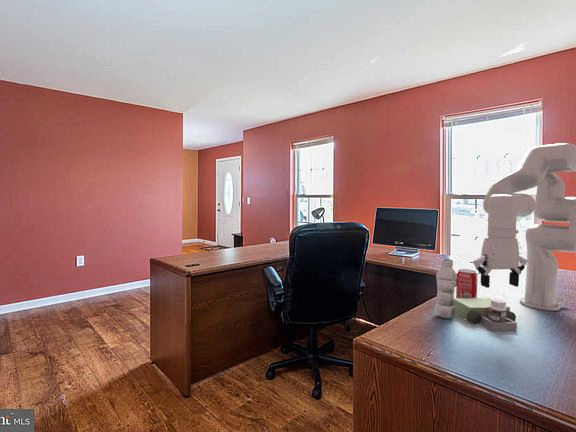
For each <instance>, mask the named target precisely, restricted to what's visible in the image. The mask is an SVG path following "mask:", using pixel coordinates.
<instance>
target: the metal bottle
mask: <svg viewBox="0 0 576 432" xmlns="http://www.w3.org/2000/svg"><path fill="white" fill-rule="evenodd" d="M440 265H441V267H440V268H439V269H438V270H436V271H437V272H436V276H435V277H436V286H437V287H436V288H437V290H436V291H437V294H436V302H435V304H434V313H435V315H436V316H437V317H439V318H441V319H447V320H448V319H453V318H454V317H455V315H456V314H455V305H454V298H455V292H456V289H455V288H456V283H457V273H456V271H455V270H454V268H453V266H454V260H453V259H449V258H441V261H440Z"/></svg>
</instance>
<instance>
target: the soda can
mask: <svg viewBox="0 0 576 432" xmlns="http://www.w3.org/2000/svg"><path fill="white" fill-rule="evenodd" d="M456 275H457V279H456V284H455V288H456V289H455V298H478V297H477V296H478V275H477V270H473V269H469V268H467V269H466V268H462V269H461V268H460V269H458V271H457V273H456Z"/></svg>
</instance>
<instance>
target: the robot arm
mask: <svg viewBox="0 0 576 432" xmlns="http://www.w3.org/2000/svg"><path fill="white" fill-rule="evenodd" d="M570 172H571V173H572V172H576V144H573V143H565V142H563V143H554V144H543V145H537V146H533V147H531V148H529V149H527V151H526V152H525V154H523V157H522V159H521V161H520V163H519V164H518V166H517V168H516V170H515V171H513V172H511V173H509V174H508V175H505V176H504V177H502V178H501V179H498V180H497V181H495V182H494V183H493V184H492V185H491V187H490V188H489V189H488V191H487V192H486V194H485V196H484V199H483V204H482V206H483V212H485V213H486V214H487V236H485V237H484V240H483V242H482V247H481V252H480V253H481V254H480V257H478V258H476V259H475V260H473V261H472V262H473V264H474V267H475V269H476V271H477V272H478V273H479V274H480V286H482V287H484V288H486V289H489V288H490V285H491V284H490V282H491V281H490V280H491V277H490V276H491V275H489V274H490V273H491V271H492V270H510V272H509V275H508V276H509V277H508V278H509V279H508V280H509V282H508V284H509V285H511V286H513V287H519V281H520V278H519V277H520V275H521V274H522V272H523V270H524V269H525V267H526V270H525V271H526V272H525V287H524V288H525V289H524V297H522V298H520V299H519V303H520V304H521V305H523V306H526V307H528V308H532V309H537V310H542V311H550V312H551V311H552V312H553V311H560V310H561V309H562V308H561V305H560V304H559V303H561V302H563V303H565V302H566V303H567V302H568V298H567V297H566V296H559V295H557V287H558V272H559V270H558V269H559V262H558V259H557V257H556V255H554V253H553V251H555V252H563V253H573V254H576V196H565V193H566V184H565V182H564V180H562V178H561V177H560V176H559V175H558V174H557V173H570ZM532 188H533V189H534V188H536V192H535V193H536V195H535V198H534V197H533V196H532V195H530V194H528V193H520V192H523V191H527V190H529V189H532ZM518 192H519V193H518ZM531 214H534V215H533V216H534V218H535V219H536V220H537V221H541V222H549V223H550V222H552V223H568V224H569V226H568V225H556V224H545V223H544V224H539V223H538V224H534V225H533V224H532V225H530V226H528V228H526V231H525V242H526V254H527V255H526V258H524V257H522V256H520V248H519V241H518V238H517V237H516V236H517V234H519V230H518V229H517V217H518V218H519V217H520V218H523V217H528V216H530V215H531Z"/></svg>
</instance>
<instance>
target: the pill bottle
mask: <svg viewBox="0 0 576 432" xmlns="http://www.w3.org/2000/svg"><path fill="white" fill-rule="evenodd" d="M491 299H492V300H491V304H492V305H490V306H489V318H488V319H489V320H490V321H492V322H506V311H507V309H506V307H505V306H507V302H506V301H505V300H503V299H499V298H491Z"/></svg>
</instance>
